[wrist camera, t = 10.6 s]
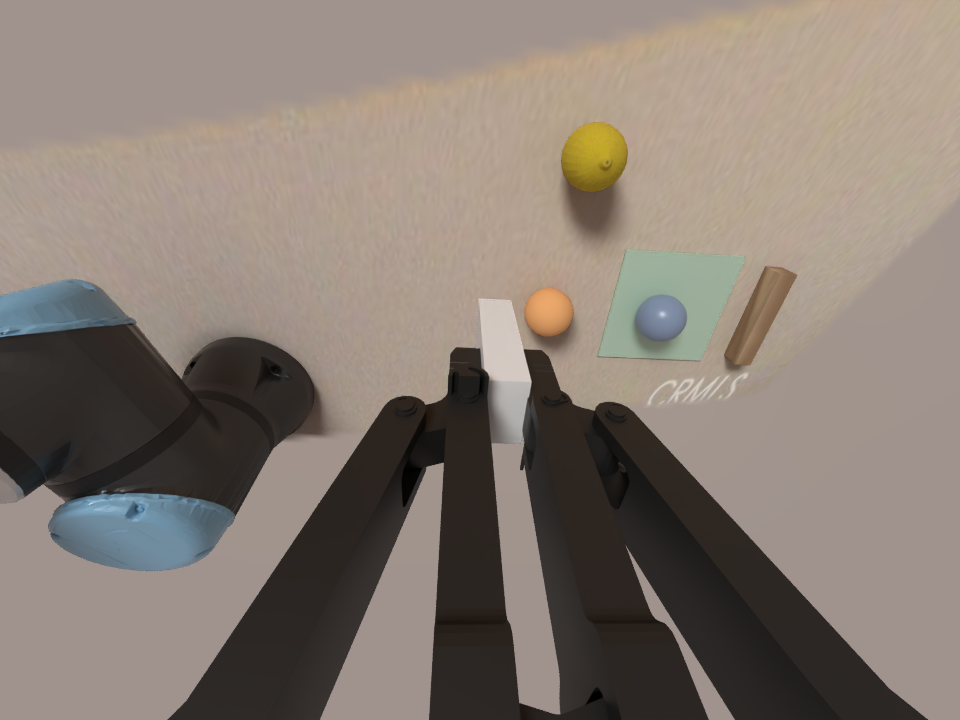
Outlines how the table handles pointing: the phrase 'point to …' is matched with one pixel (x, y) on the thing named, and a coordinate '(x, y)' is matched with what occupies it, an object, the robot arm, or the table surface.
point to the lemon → (594, 157)
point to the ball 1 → (548, 312)
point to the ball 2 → (661, 318)
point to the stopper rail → (759, 314)
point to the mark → (674, 274)
